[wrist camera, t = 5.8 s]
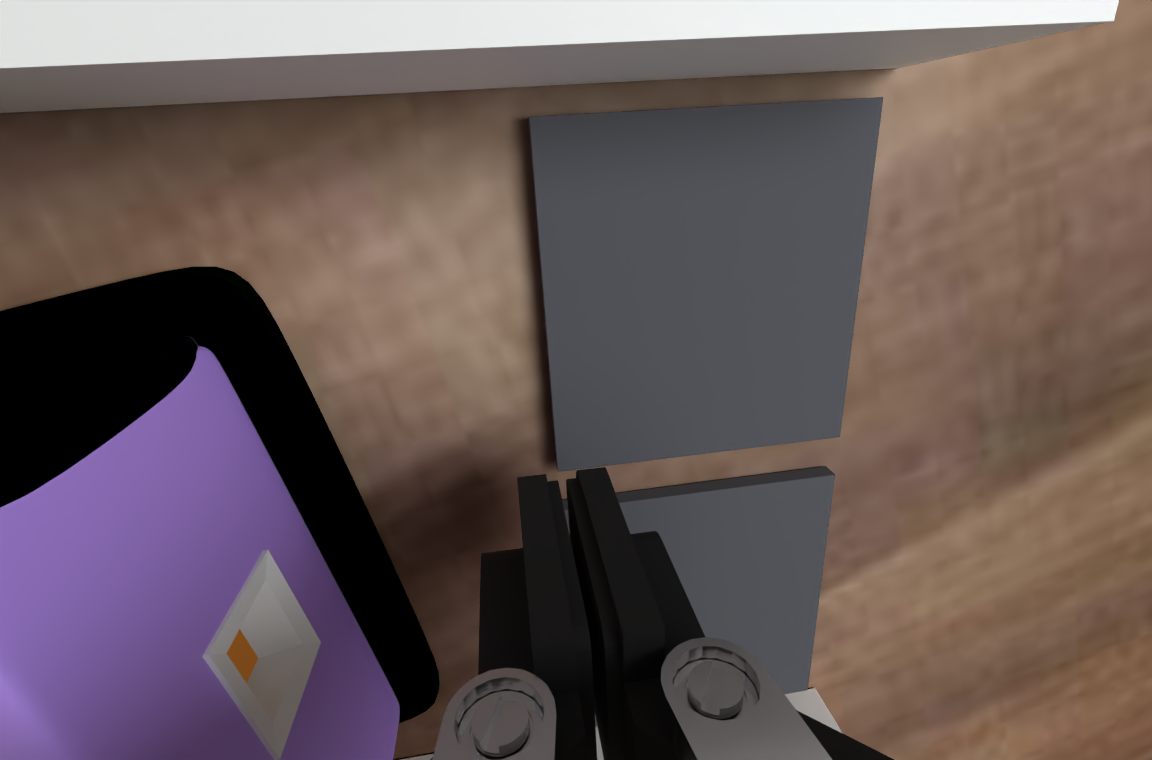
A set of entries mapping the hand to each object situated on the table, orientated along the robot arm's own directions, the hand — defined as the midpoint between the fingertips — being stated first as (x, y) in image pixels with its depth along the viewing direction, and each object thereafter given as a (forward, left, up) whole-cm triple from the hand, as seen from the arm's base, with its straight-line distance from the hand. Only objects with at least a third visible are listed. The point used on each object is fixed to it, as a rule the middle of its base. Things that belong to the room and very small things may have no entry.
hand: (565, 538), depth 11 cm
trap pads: (-3, 0, -2) cm, 4 cm away
